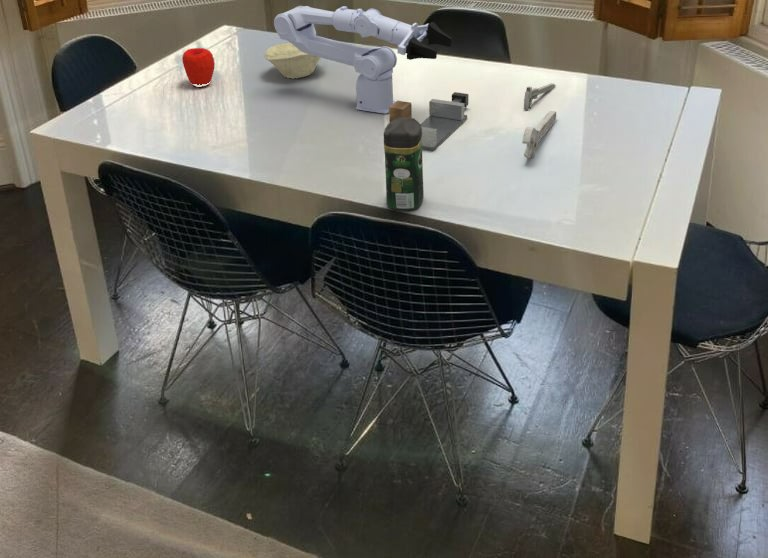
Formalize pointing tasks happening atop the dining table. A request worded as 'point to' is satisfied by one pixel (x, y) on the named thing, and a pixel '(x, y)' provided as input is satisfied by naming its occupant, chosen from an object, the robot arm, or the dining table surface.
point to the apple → (198, 65)
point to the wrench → (537, 133)
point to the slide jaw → (449, 107)
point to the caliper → (535, 94)
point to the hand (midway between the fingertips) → (444, 48)
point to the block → (400, 110)
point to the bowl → (291, 60)
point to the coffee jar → (403, 164)
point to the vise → (438, 131)
